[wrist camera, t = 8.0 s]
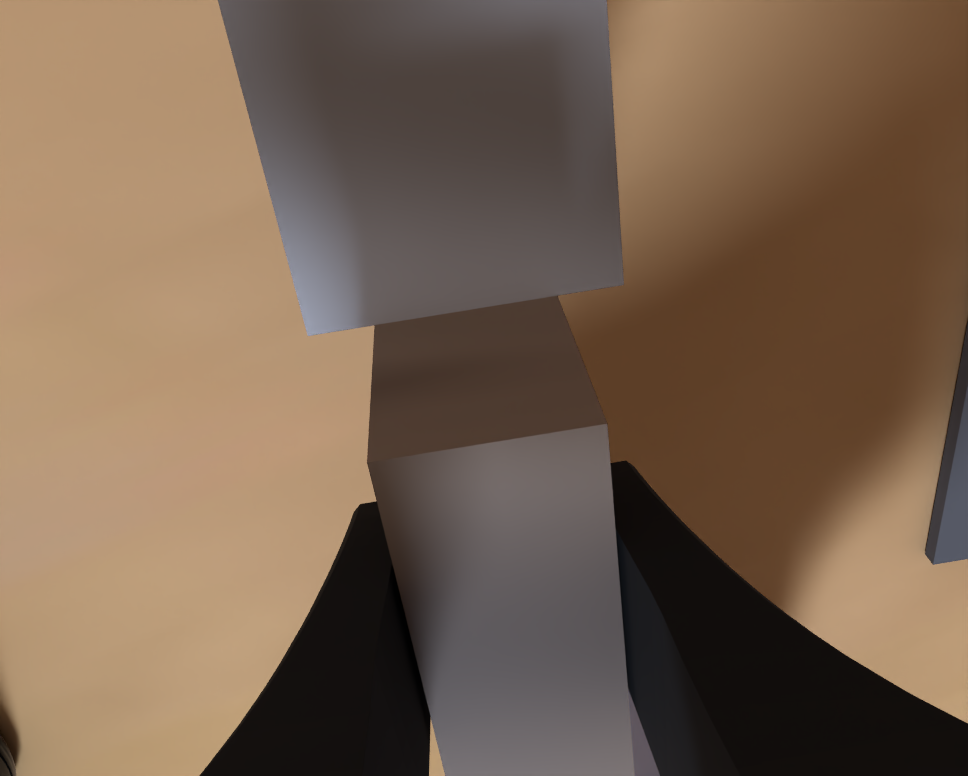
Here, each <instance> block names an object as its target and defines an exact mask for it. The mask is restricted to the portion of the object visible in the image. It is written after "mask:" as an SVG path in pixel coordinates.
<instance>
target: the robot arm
mask: <svg viewBox="0 0 968 776" xmlns="http://www.w3.org/2000/svg"><path fill="white" fill-rule="evenodd" d="M610 465H611V477H612V490H613V503H614V516H615V529H616V542H617V555H618V567H619V580H620V593H621V606H622V619H623V632H624V645H625V657H626V670H627V683H628V696H629V709H630V722H631V735H632V747H633V760H634V773H635V776H968V723H966V722H964V721H962V720H960V719H958V718H956V717H954V716H952V715H950V714H948V713H946V712H944V711H942V710H940V709H938V708H937V707H935V706H933V705H931V704H929V703H927V702H925V701H923V700H921V699H919V698H917V697H915V696H914V695H912V694H910V693H908V692H906V691H905V690H903V689H901V688H899V687H898V686H896V685H894V684H893V683H891V682H889V681H888V680H886V679H884V678H883V677H881V676H879V675H878V674H876V673H874V672H873V671H871V670H869V669H868V668H866V667H864V666H863V665H861V664H859V663H858V662H856V661H854V660H853V659H851V658H849V657H848V656H846V655H844V654H843V653H842V652H840V651H839V650H837V649H836V648H834V647H833V646H831V645H830V644H828V643H827V642H825V641H824V640H822V639H821V638H819V637H818V636H816V635H815V634H813V633H812V632H811V631H809V630H808V629H807V628H805V627H804V626H802V625H801V624H800V623H798V622H797V621H796V620H794V619H793V618H791V617H790V616H789V615H787V614H786V613H785V612H783V611H782V610H781V609H780V608H778V607H777V606H776V605H774V604H773V603H772V602H771V601H769V600H768V599H767V598H766V597H764V596H763V595H762V594H761V593H759V592H758V591H757V590H756V589H755V588H754V587H752V586H751V585H750V584H749V583H748V582H747V581H745V580H744V579H743V578H742V577H741V576H739V575H738V574H737V573H736V572H735V571H734V570H733V569H731V568H730V567H729V566H728V565H727V564H726V563H725V562H724V561H723V560H722V559H720V558H719V557H718V556H717V555H716V554H715V553H714V552H713V551H712V550H711V549H710V548H709V547H708V546H707V545H706V544H705V543H704V542H703V541H702V540H701V539H700V538H698V537H697V536H696V535H695V534H694V533H693V532H692V531H691V530H690V529H689V528H688V527H687V526H686V525H685V524H684V523H683V522H682V521H681V520H680V519H679V518H678V516H677V515H676V514H675V513H674V512H673V511H672V510H671V509H670V508H669V507H668V506H667V505H666V504H665V502H664V501H663V500H662V499H661V498H660V497H659V496H658V495H657V494H656V492H655V491H654V490H653V489H652V488H651V487H650V486H649V484H648V483H647V482H646V481H645V480H644V478H643V477H642V476H641V475H640V473H639V472H638V471H637V470H636V468H635V467H634V466H633V465H631V464H630V463H629V462H627V461H621V462H615V463H610ZM430 717H431V716H430V712H429V708H428V704H427V700H426V696H425V692H424V688H423V684H422V680H421V676H420V672H419V668H418V664H417V660H416V656H415V652H414V648H413V644H412V640H411V636H410V632H409V628H408V624H407V620H406V616H405V612H404V608H403V604H402V600H401V596H400V592H399V588H398V584H397V580H396V576H395V572H394V568H393V564H392V560H391V556H390V552H389V548H388V544H387V540H386V536H385V532H384V528H383V524H382V520H381V516H380V512H379V508H378V504H377V502H371V503H365V504H360V505H359V506H358V508H357V509H356V510H355V511H354V513H353V516H352V519H351V522H350V524H349V527H348V530H347V532H346V535H345V537H344V540H343V542H342V544H341V547H340V549H339V551H338V554H337V556H336V558H335V560H334V563H333V565H332V567H331V569H330V571H329V574H328V576H327V578H326V580H325V582H324V584H323V586H322V588H321V590H320V592H319V594H318V596H317V598H316V600H315V602H314V604H313V606H312V608H311V610H310V612H309V613H308V615H307V617H306V619H305V621H304V623H303V625H302V626H301V628H300V630H299V631H298V633H297V635H296V637H295V638H294V640H293V642H292V644H291V645H290V647H289V649H288V650H287V652H286V654H285V656H284V657H283V659H282V661H281V663H280V664H279V666H278V667H277V669H276V671H275V672H274V674H273V675H272V677H271V679H270V680H269V682H268V683H267V685H266V686H265V688H264V689H263V691H262V692H261V694H260V695H259V697H258V698H257V700H256V701H255V703H254V704H253V706H252V707H251V708H250V710H249V711H248V713H247V714H246V716H245V717H244V718H243V720H242V721H241V723H240V724H239V725H238V727H237V728H236V729H235V731H234V732H233V733H232V735H231V736H230V737H229V739H228V740H227V741H226V742H225V744H224V745H223V746H222V748H221V749H220V750H219V752H218V753H217V754H216V755H215V757H214V758H213V759H212V761H211V762H210V763H209V764H208V766H207V767H206V768H205V769H204V771H203V772H202V773H201V774H200V776H429V753H430Z"/></svg>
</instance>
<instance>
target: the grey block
mask: <svg viewBox="0 0 968 776" xmlns="http://www.w3.org/2000/svg"><path fill="white" fill-rule="evenodd" d="M218 2H219V6H220V10H221V14H222V17H223V21H224V25H225V28H226V32H227V36H228V40H229V43H230V47H231V51H232V55H233V58H234V62H235V66H236V70H237V73H238V77H239V81H240V84H241V88H242V92H243V96H244V99H245V103H246V107H247V111H248V114H249V118H250V122H251V125H252V129H253V133H254V137H255V140H256V144H257V148H258V152H259V155H260V159H261V163H262V167H263V170H264V174H265V178H266V181H267V185H268V189H269V193H270V196H271V200H272V204H273V208H274V211H275V215H276V219H277V222H278V226H279V230H280V234H281V237H282V241H283V245H284V249H285V252H286V256H287V260H288V264H289V267H290V271H291V275H292V278H293V282H294V286H295V290H296V293H297V297H298V301H299V305H300V308H301V312H302V316H303V319H304V323H305V327H306V331H307V334H308V336H310V335H317V334H323V333H329V332H335V331H341V330H348V329H354V328H360V327H366V326H372V325H375V329H374V347H373V365H372V383H371V402H370V420H369V438H368V456H367V464H368V468H369V472H370V476H371V480H372V484H373V488H374V492H375V496H376V500H377V504H378V508H379V512H380V516H381V520H382V524H383V528H384V532H385V536H386V540H387V544H388V548H389V552H390V556H391V560H392V564H393V568H394V572H395V576H396V580H397V584H398V588H399V592H400V596H401V600H402V604H403V608H404V612H405V616H406V620H407V624H408V628H409V632H410V636H411V640H412V644H413V648H414V652H415V656H416V660H417V664H418V668H419V672H420V676H421V680H422V684H423V688H424V692H425V696H426V700H427V704H428V708H429V712H430V716H431V720H432V724H433V728H434V732H435V736H436V740H437V744H438V748H439V752H440V756H441V760H442V764H443V768H444V772H445V776H635V773H634V760H633V747H632V735H631V722H630V709H629V696H628V683H627V670H626V657H625V645H624V632H623V619H622V606H621V593H620V580H619V567H618V555H617V542H616V529H615V516H614V503H613V490H612V477H611V465H610V452H609V439H608V426H607V422H606V419H605V416H604V414H603V411H602V409H601V406H600V404H599V401H598V399H597V396H596V393H595V391H594V388H593V386H592V383H591V381H590V378H589V376H588V373H587V370H586V368H585V365H584V363H583V360H582V358H581V355H580V352H579V350H578V347H577V345H576V342H575V340H574V337H573V335H572V332H571V329H570V327H569V324H568V322H567V319H566V317H565V314H564V312H563V309H562V306H561V304H560V301H559V299H558V295H564V294H571V293H577V292H583V291H589V290H595V289H602V288H608V287H614V286H620V285H624V278H623V261H622V245H621V228H620V212H619V195H618V179H617V162H616V146H615V129H614V113H613V96H612V80H611V63H610V47H609V30H608V14H607V0H218Z"/></svg>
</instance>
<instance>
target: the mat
mask: <svg viewBox="0 0 968 776" xmlns="http://www.w3.org/2000/svg"><path fill="white" fill-rule="evenodd" d="M925 555H926V556H927V557H928V559H929V560H930V561H931V563H932V564H933V565H934V564H940V563H946V562H952V561H958V560H964V559H968V324H967V330H966V335H965V340H964V346H963V351H962V357H961V362H960V367H959V373H958V378H957V384H956V389H955V395H954V400H953V405H952V411H951V416H950V422H949V427H948V433H947V438H946V443H945V449H944V454H943V460H942V465H941V470H940V476H939V481H938V487H937V492H936V498H935V503H934V508H933V514H932V519H931V525H930V530H929V535H928V541H927V546H926V552H925Z"/></svg>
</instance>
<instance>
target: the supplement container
mask: <svg viewBox="0 0 968 776" xmlns="http://www.w3.org/2000/svg"><path fill="white" fill-rule="evenodd" d="M0 776H16V769H15V763H14V760H13V757H12V754H11V751H10V749H9V747H8V746H7V744H6V742H5V741H4V739H3V738H2V736H1V735H0Z"/></svg>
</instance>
